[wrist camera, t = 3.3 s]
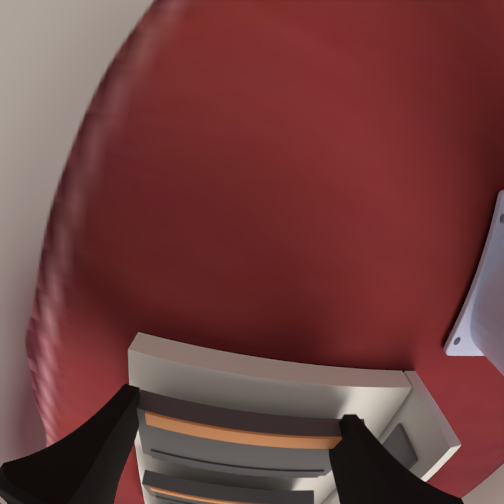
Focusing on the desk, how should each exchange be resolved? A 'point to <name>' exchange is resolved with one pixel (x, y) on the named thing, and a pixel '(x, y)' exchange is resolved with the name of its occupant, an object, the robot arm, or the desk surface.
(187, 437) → the switch
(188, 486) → the switch
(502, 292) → the robot arm
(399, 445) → the switch unit
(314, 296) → the desk surface
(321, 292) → the desk surface
